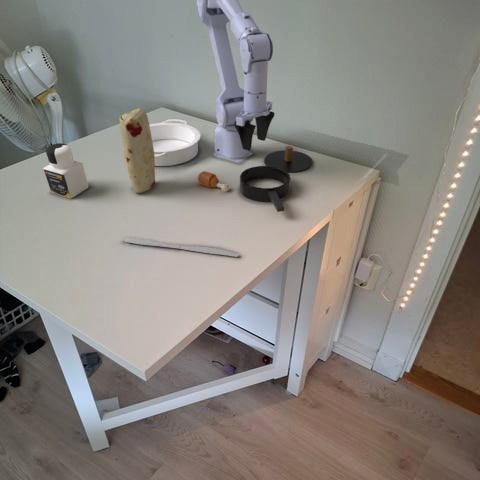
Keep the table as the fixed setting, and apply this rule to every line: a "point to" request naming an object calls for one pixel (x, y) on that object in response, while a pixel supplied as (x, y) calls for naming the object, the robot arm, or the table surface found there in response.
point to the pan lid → (289, 160)
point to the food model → (138, 149)
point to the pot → (174, 142)
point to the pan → (264, 173)
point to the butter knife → (181, 247)
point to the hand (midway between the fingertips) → (254, 144)
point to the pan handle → (276, 201)
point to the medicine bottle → (64, 171)
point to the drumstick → (211, 181)
